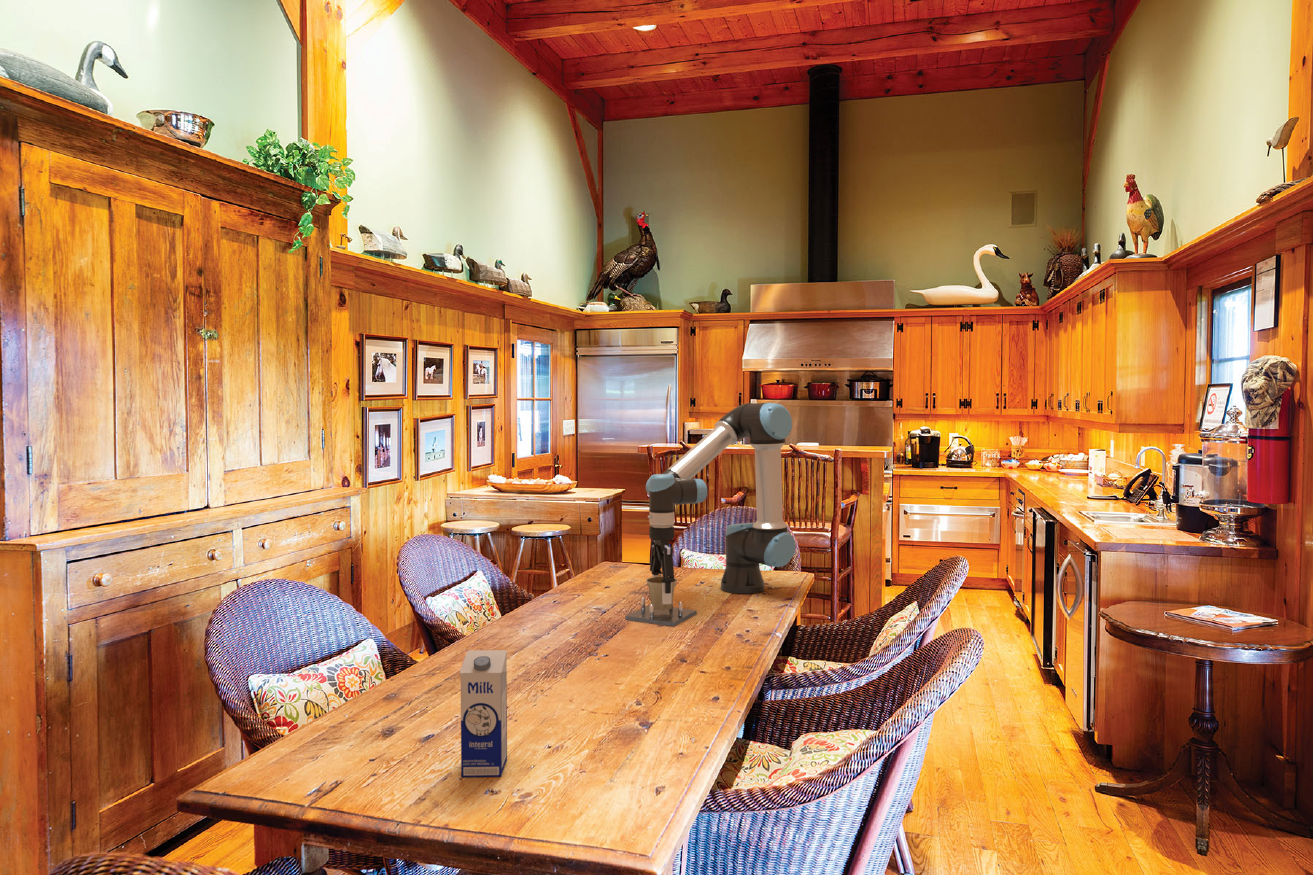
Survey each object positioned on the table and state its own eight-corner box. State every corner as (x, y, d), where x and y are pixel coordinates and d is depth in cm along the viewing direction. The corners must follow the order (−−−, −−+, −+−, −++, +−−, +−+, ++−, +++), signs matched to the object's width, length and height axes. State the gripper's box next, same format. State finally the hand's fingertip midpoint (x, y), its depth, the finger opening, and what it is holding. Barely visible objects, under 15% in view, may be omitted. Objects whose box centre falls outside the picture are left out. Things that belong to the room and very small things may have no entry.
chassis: (650, 607, 250) (650, 591, 250) (696, 614, 243) (696, 597, 242) (625, 619, 236) (625, 602, 236) (673, 626, 228) (673, 608, 228)
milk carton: (508, 759, 142) (507, 648, 141) (502, 776, 135) (501, 660, 134) (468, 759, 142) (467, 649, 141) (460, 777, 135) (459, 661, 134)
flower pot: (677, 612, 234) (677, 583, 234) (645, 612, 235) (645, 583, 234) (677, 604, 244) (677, 576, 243) (646, 604, 244) (646, 576, 244)
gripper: (639, 521, 248) (639, 592, 248) (660, 531, 227) (660, 609, 227) (662, 520, 250) (662, 590, 251) (685, 530, 229) (685, 607, 230)
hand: (661, 599), depth 239 cm, fingers closed on flower pot, 9 cm apart
